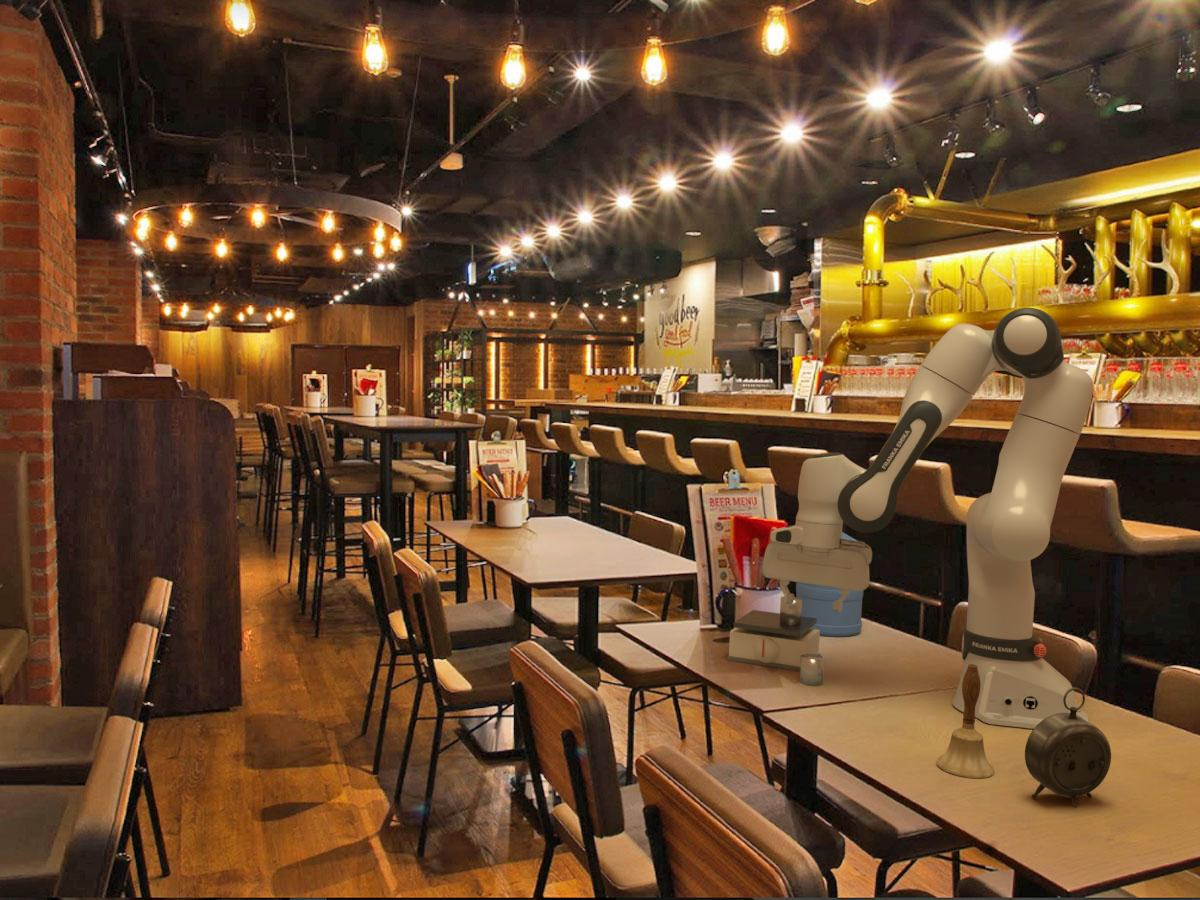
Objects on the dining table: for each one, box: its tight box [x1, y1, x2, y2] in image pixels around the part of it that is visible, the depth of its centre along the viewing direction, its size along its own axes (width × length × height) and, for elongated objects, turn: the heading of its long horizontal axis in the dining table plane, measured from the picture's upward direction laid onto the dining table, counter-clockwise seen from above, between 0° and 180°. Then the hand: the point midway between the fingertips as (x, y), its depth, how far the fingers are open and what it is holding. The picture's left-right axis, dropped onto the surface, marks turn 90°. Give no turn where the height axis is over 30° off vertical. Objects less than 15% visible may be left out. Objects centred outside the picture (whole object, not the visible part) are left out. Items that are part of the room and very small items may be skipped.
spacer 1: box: [779, 596, 802, 625], centre depth 208 cm, size 4×4×5 cm
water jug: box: [795, 531, 866, 638], centre depth 237 cm, size 16×16×28 cm
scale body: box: [726, 627, 821, 672], centre depth 209 cm, size 17×13×6 cm
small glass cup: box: [799, 654, 825, 687], centre depth 193 cm, size 4×4×5 cm
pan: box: [733, 609, 817, 637], centre depth 209 cm, size 14×14×2 cm
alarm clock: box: [1024, 687, 1112, 808], centre depth 139 cm, size 11×5×16 cm, turn 99°
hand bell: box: [936, 664, 995, 779], centre depth 151 cm, size 8×8×16 cm
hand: (812, 607), depth 192 cm, fingers open, 8 cm apart
